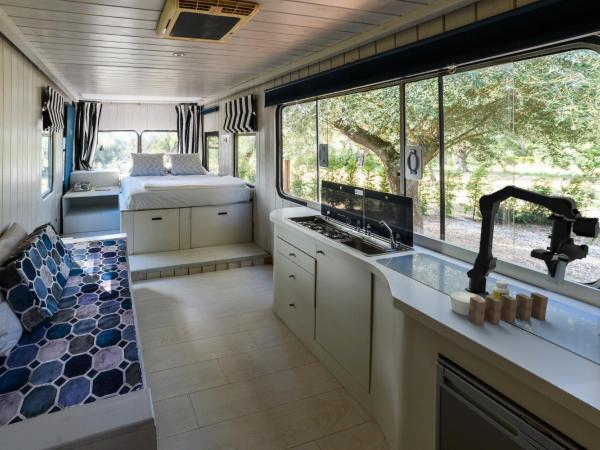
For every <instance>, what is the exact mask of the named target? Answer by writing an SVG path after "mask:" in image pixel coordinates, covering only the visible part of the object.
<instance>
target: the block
mask: <svg viewBox="0 0 600 450" xmlns="http://www.w3.org/2000/svg"><path fill="white" fill-rule="evenodd" d="M566 267H567V266H566V262H563V261H560V262H559V263H558V264H557V268H556V273H555V277H554V278H552V277H551V276H550V273H549V271H548V270H547V275H546V282H549V283H551V284H554V285H557V286H564V282H565V276H566V270H567V269H566Z"/></svg>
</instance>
